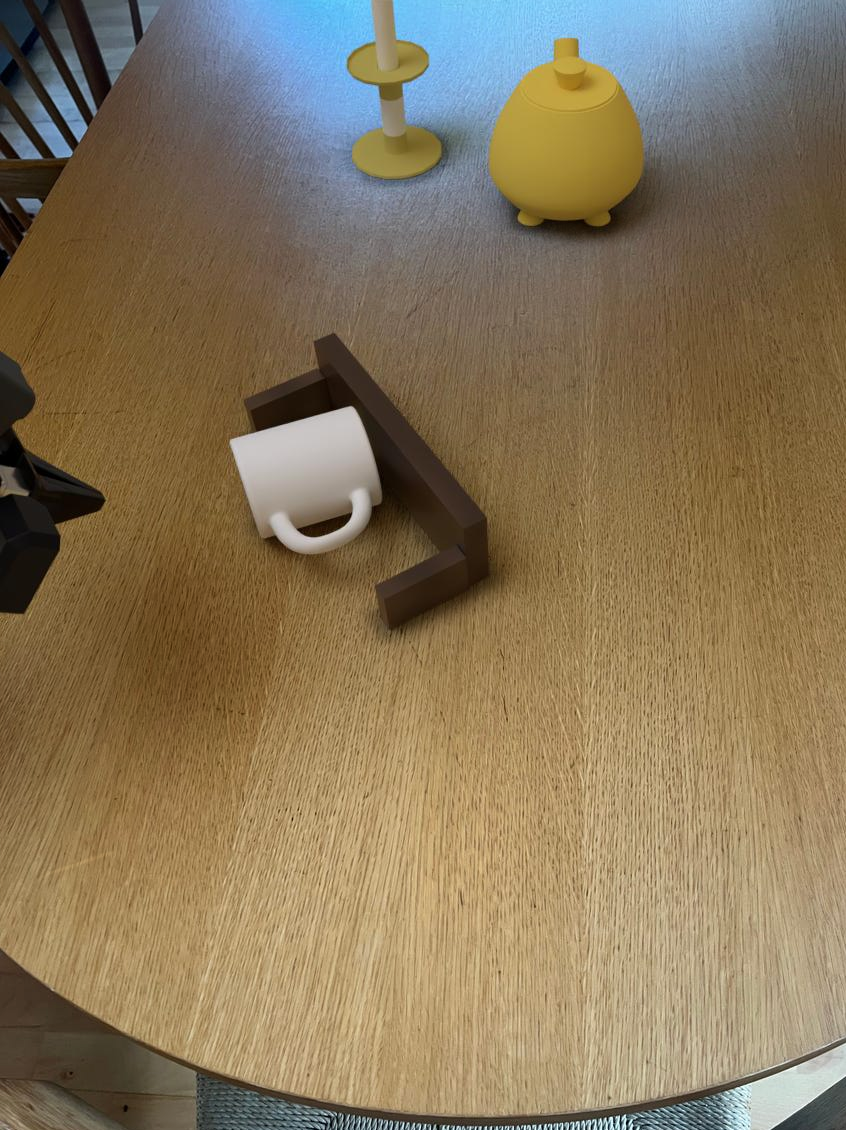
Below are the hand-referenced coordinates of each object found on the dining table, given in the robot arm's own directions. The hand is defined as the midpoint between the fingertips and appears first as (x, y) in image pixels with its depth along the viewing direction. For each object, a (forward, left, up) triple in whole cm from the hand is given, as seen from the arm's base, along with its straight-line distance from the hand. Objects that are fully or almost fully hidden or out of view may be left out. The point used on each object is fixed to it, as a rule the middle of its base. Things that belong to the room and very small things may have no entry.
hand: (101, 501), depth 69 cm
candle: (+23, +58, -12) cm, 63 cm away
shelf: (+17, +8, -12) cm, 22 cm away
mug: (+13, +6, -12) cm, 19 cm away
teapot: (+40, +49, -12) cm, 64 cm away
